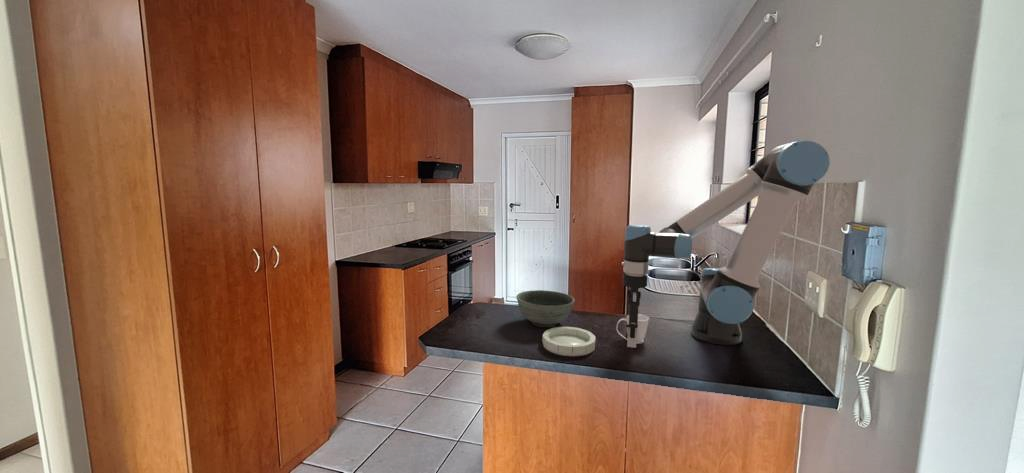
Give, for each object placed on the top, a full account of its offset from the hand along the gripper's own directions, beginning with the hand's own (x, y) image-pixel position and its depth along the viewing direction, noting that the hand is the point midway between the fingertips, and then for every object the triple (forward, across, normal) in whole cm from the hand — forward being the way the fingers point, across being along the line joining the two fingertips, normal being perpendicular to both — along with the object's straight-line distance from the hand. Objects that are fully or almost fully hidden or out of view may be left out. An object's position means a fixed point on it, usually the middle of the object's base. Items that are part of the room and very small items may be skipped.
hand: (631, 339), depth 132 cm
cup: (0, 0, 0) cm, 0 cm away
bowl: (+1, -7, -30) cm, 31 cm away
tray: (0, +10, -19) cm, 21 cm away
